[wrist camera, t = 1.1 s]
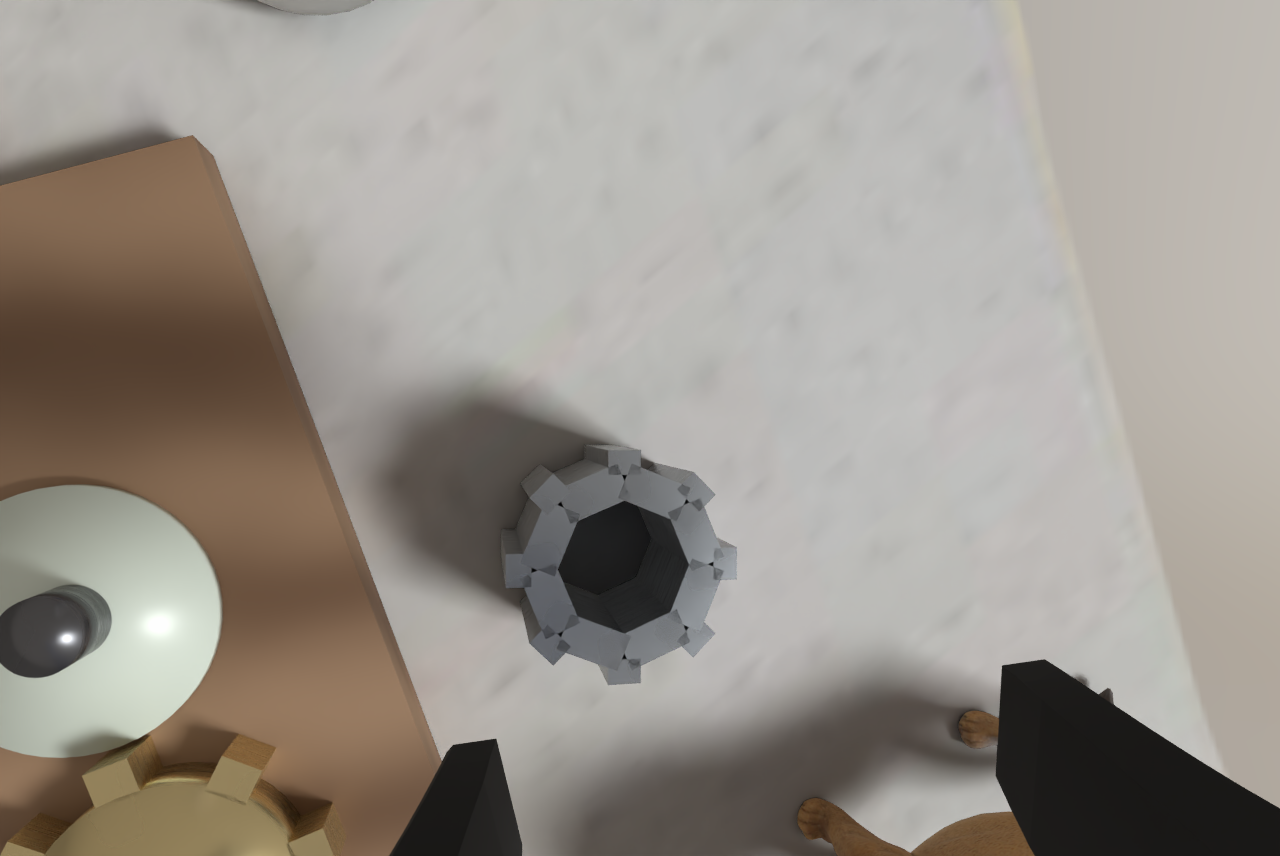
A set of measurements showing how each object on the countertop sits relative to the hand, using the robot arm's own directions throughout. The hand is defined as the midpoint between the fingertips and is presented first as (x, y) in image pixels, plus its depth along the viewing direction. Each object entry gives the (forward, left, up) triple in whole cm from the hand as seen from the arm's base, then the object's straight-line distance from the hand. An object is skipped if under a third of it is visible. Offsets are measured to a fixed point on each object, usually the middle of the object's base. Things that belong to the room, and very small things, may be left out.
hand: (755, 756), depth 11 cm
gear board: (-6, +12, -13) cm, 19 cm away
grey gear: (+1, +1, -13) cm, 13 cm away
